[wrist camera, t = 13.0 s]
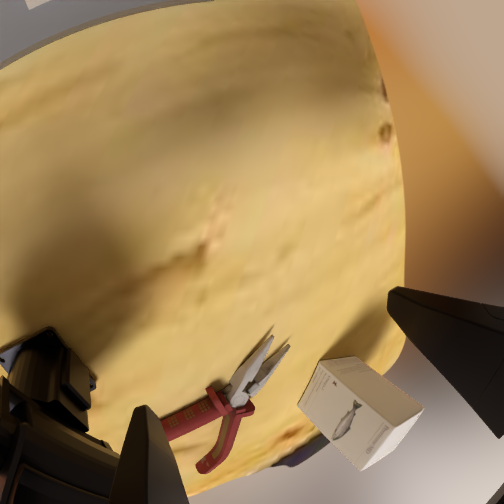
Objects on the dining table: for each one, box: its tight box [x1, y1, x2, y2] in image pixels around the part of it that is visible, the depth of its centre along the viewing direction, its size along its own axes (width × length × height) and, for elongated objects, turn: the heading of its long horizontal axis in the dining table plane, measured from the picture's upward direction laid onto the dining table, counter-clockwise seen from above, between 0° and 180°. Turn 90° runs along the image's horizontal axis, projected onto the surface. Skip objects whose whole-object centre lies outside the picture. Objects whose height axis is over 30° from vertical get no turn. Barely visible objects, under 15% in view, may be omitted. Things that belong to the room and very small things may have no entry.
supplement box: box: [297, 356, 424, 471], centre depth 28 cm, size 7×7×13 cm
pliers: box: [161, 335, 290, 474], centre depth 25 cm, size 12×20×3 cm, turn 137°
